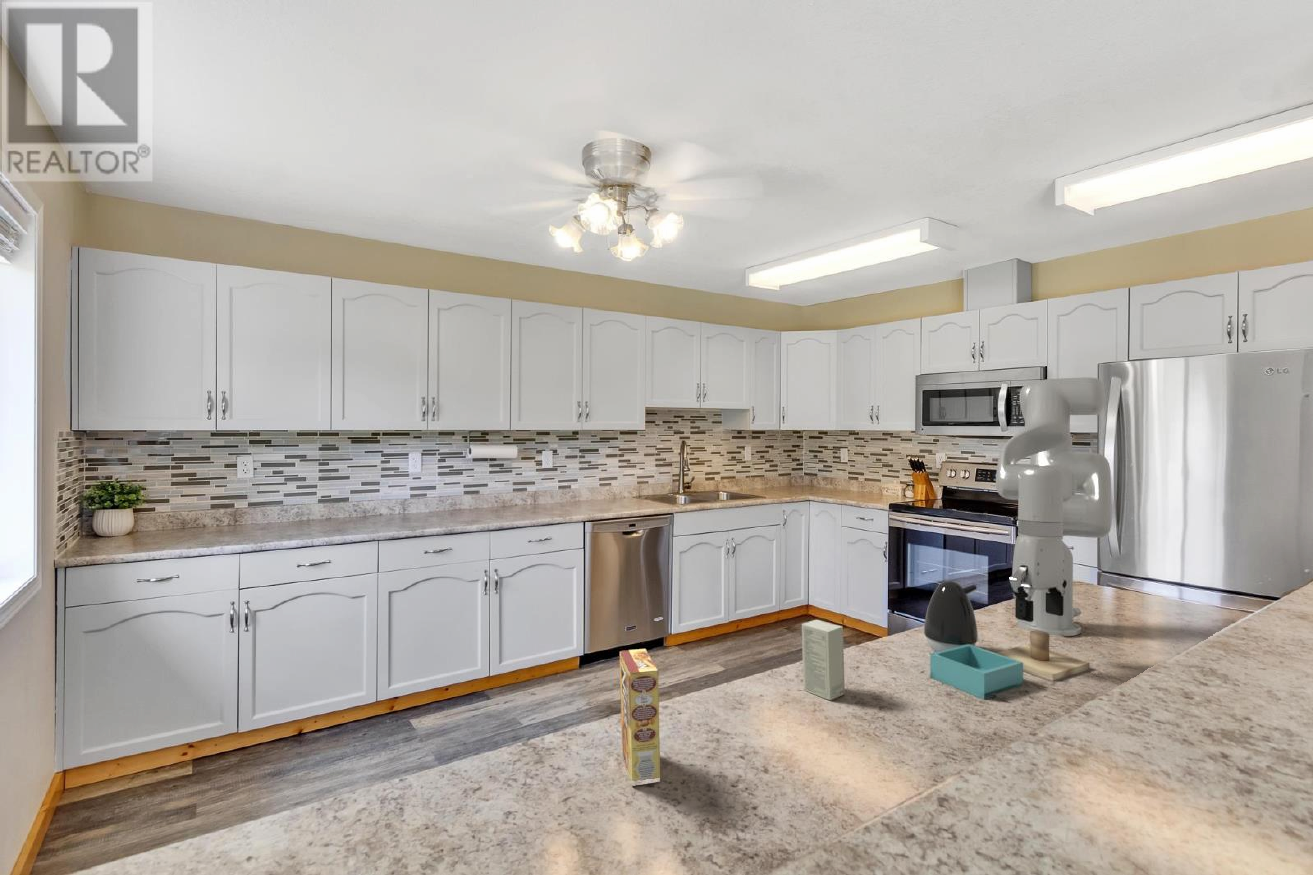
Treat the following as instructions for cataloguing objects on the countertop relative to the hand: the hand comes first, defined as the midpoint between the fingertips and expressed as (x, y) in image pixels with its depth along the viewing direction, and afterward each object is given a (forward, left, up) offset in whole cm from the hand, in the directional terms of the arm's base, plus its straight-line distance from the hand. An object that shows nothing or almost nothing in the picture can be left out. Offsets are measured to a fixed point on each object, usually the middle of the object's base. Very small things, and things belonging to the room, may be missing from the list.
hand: (1039, 617), depth 123 cm
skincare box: (+45, -11, -10) cm, 48 cm away
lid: (-1, 0, -10) cm, 10 cm away
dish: (+17, -1, -10) cm, 20 cm away
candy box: (+85, -4, -10) cm, 86 cm away
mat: (-1, 0, -10) cm, 10 cm away
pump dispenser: (+8, -13, -10) cm, 19 cm away
